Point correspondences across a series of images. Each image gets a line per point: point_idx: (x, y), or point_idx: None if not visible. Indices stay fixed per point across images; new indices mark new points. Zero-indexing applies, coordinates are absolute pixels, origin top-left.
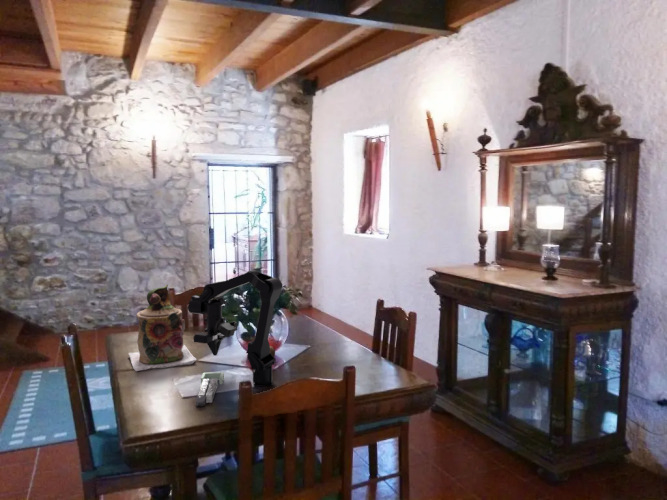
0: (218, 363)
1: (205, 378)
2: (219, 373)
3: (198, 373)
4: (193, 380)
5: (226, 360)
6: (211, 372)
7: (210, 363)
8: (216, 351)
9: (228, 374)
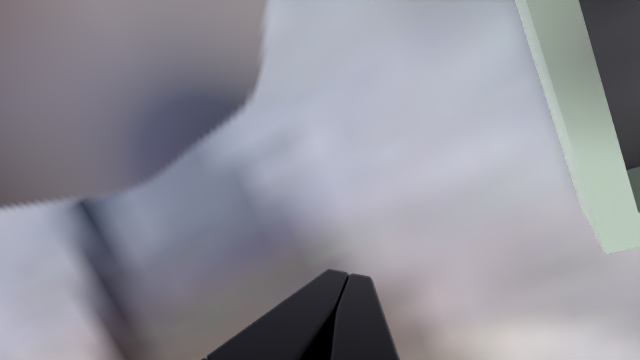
0: (99, 266)
1: (630, 180)
2: (583, 21)
3: (393, 323)
4: (614, 294)
5: (10, 236)
6: (577, 154)
7: (133, 323)
8: (354, 318)
9: (317, 21)
